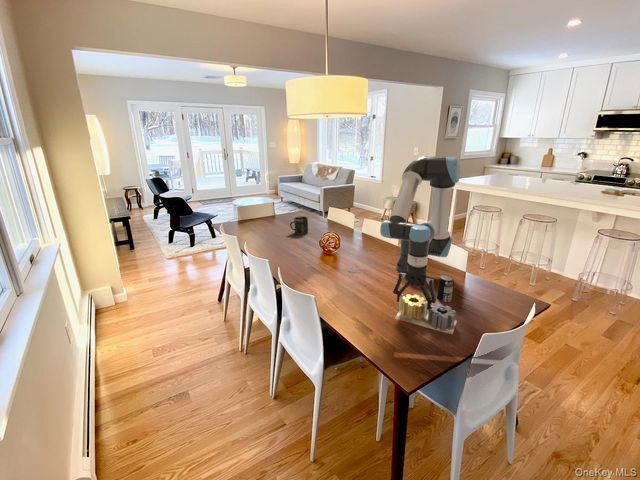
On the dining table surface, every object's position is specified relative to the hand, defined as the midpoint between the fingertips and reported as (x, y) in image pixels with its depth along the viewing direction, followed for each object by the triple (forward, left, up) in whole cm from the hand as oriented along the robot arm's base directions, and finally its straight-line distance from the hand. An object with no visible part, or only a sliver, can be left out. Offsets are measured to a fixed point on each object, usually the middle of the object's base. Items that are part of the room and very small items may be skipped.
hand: (412, 312), depth 135 cm
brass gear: (0, 0, 0) cm, 0 cm away
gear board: (0, +5, -3) cm, 6 cm away
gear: (0, +11, -2) cm, 12 cm away
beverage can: (-22, +9, -3) cm, 24 cm away
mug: (-76, -109, -3) cm, 133 cm away
